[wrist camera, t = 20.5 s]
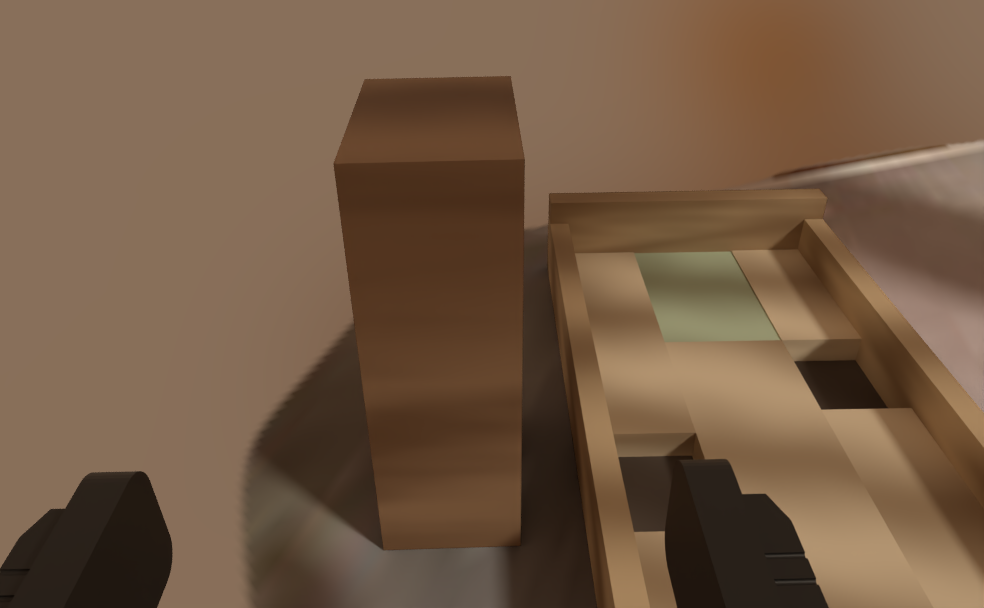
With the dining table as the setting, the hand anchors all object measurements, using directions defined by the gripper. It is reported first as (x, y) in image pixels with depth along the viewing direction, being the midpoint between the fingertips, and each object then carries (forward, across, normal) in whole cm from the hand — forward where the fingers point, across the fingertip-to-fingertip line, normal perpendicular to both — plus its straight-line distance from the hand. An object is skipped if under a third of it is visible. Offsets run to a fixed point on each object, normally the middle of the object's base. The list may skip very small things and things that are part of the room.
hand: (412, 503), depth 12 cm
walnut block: (+10, 0, +9) cm, 14 cm away
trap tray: (+12, -10, +9) cm, 18 cm away
